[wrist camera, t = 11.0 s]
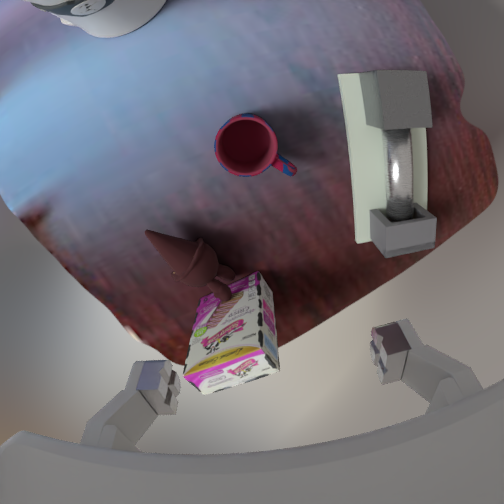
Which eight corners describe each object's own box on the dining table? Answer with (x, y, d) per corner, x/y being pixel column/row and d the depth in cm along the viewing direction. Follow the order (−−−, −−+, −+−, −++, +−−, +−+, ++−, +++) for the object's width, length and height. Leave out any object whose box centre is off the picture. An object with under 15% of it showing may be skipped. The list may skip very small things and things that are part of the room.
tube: (376, 125, 35) (389, 128, 31) (401, 123, 34) (416, 127, 31) (382, 228, 42) (392, 240, 38) (405, 224, 41) (417, 235, 38)
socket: (369, 209, 40) (386, 227, 35) (416, 202, 40) (436, 217, 35) (370, 238, 43) (385, 258, 37) (415, 229, 42) (434, 247, 37)
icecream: (124, 263, 38) (214, 317, 44) (148, 232, 34) (247, 295, 40) (142, 230, 43) (221, 281, 49) (166, 199, 39) (251, 258, 45)
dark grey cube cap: (358, 73, 32) (376, 70, 26) (403, 72, 31) (426, 71, 26) (366, 124, 35) (384, 129, 30) (410, 122, 34) (432, 127, 29)
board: (337, 74, 33) (339, 74, 32) (416, 73, 32) (419, 73, 31) (355, 240, 44) (357, 243, 43) (422, 227, 43) (425, 230, 42)
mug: (240, 103, 35) (239, 103, 29) (302, 150, 38) (313, 160, 32) (209, 144, 37) (202, 153, 31) (271, 188, 40) (275, 205, 34)
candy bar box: (257, 267, 46) (263, 347, 31) (273, 291, 48) (283, 372, 33) (196, 297, 48) (180, 377, 34) (213, 318, 50) (204, 398, 36)
